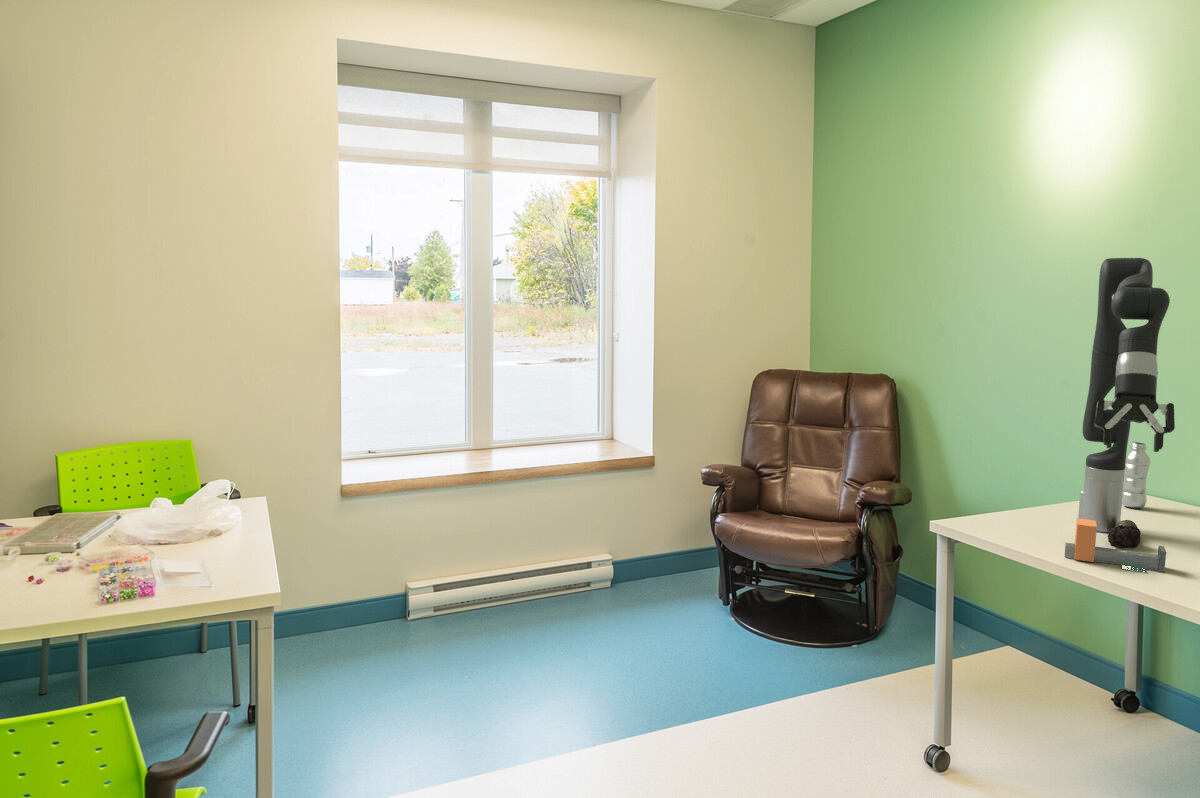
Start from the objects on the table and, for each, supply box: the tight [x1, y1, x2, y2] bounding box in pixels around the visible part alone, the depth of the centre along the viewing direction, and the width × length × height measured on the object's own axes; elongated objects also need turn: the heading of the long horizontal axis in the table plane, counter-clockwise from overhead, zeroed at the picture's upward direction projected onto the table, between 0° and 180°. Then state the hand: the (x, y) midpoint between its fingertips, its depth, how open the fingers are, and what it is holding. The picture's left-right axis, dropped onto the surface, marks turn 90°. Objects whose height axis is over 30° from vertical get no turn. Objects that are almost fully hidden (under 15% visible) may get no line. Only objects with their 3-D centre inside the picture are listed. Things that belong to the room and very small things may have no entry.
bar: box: [1064, 542, 1167, 574], centre depth 194 cm, size 20×10×5 cm, turn 61°
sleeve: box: [1073, 517, 1098, 563], centre depth 197 cm, size 4×7×9 cm, turn 151°
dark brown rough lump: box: [1107, 519, 1142, 548], centre depth 211 cm, size 18×7×6 cm, turn 140°
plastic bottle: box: [1122, 441, 1151, 509], centre depth 248 cm, size 6×7×20 cm
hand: (1132, 449), depth 173 cm, fingers open, 8 cm apart
